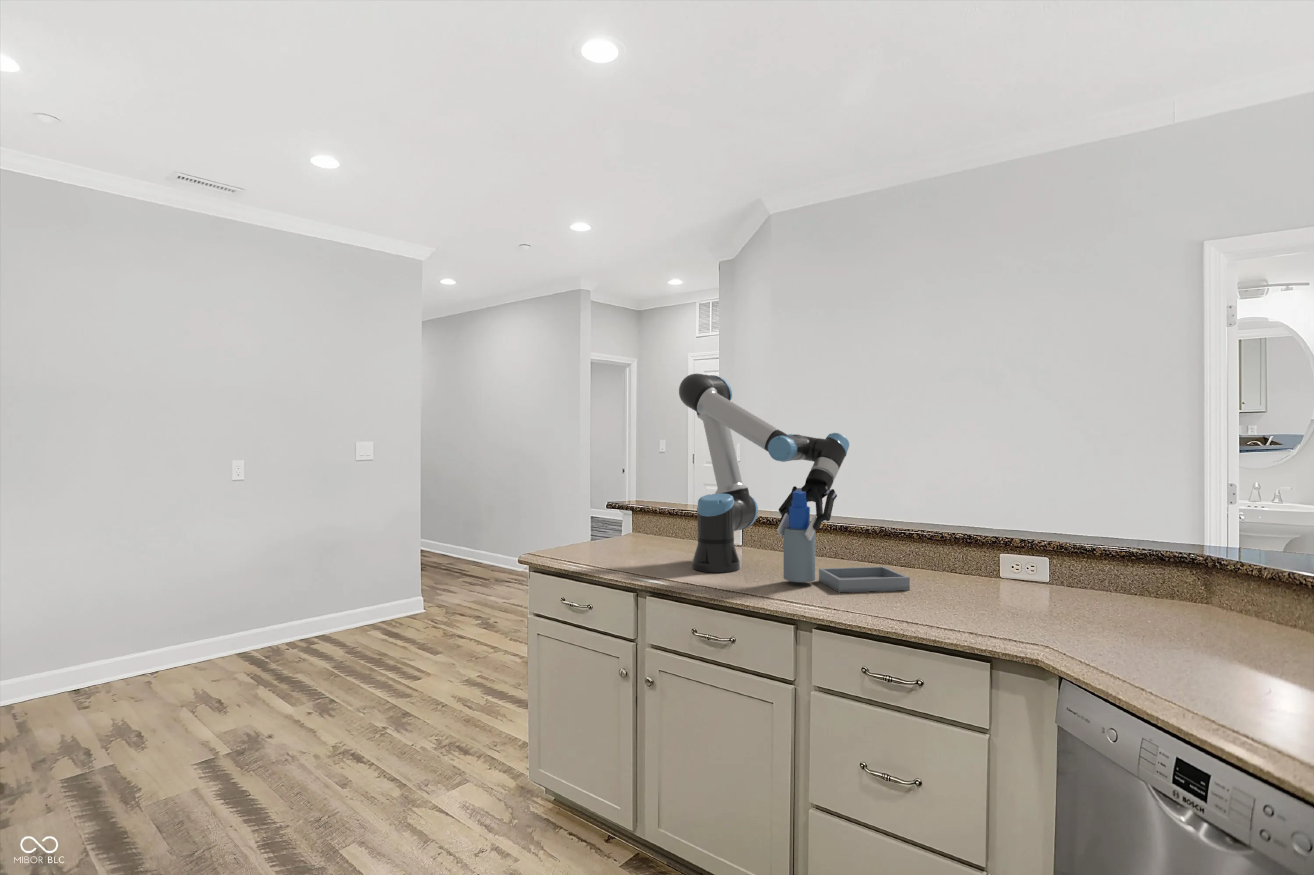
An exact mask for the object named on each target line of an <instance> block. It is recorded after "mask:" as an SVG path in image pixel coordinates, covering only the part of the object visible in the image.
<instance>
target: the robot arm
mask: <svg viewBox="0 0 1314 875" xmlns="http://www.w3.org/2000/svg"><path fill="white" fill-rule="evenodd" d="M678 395H679V399H680V401H681V402H682V403H683V405H685V406H686V407H688V408H689V409H691V410H693V411H694V412H696V416H697V418H698V419H700V420H701V421H702V423H703V428H704V432H705V436H706V441H707V446H708V450H709V455H710V458H711V459H710V460H711V463H712V464H711V465H712V468H713V469H712V470H713V473H714V477H715V482H716V486H717V488H716V491H715V493H712V494H705V495H702V496H700V498H699V499H698V500H697V507H696V512H697V513H696V514H697V545H696V549H695V552H694V556H693V558H692V569H693V570H695V571H697V572H698V571H699V572H704V573H718V574H719V573H731V572H735V571H739V570H740V568H741V566H740V562H741V561H740V558H739V555H738V553H737V552H738V551H737V549H736V546H735V532H736V531H741V530H745V529H747V528H750V526H752V525H754V523H755V522H756V520H757V518H758V516H759V515H758V514H759V506H758V503H757V501H756V500H755V498H754V497H752V495H750V492H749V487H748V486H747V485H746V484H744V483H743V480H742V476H741V472H740V467H739V461H738V459H737V455H736V449H735V444H734V441H733V436H732V431H734V432H735V433H737V434H738V435H740V436H742V437H743V438H745V439H747V440H748V441H750V442H752V443H753V444H755V445H756V446H758V447H759V448H761V449H763V450H765V451H767V452H768V454H769V456H770V458H772V459H773V460H775V461H778V462H781V463H783V462H784V463H785V462H790V461H808V462H813V464H812V466H811V468H810V471H809V472H808V474H807V477H806V478H805V484H803V486H801V487H799V488H798V487H797V486H796V485H795V486H793V487H792V489H791V492H790V493H789V495H787V497H786V499H785V500H784V501H783V502H782V504H781V505H780V506H779V508H778V512H779V514H780V515H781V517H780V519H779V521H778V523H779V525H778V527H777V529H776V532H777V534H778V536H779V537H781V538H784V528H785V527H788V526H789V506H792V500H793V492H794V491H802V492H806V500H807V503H809V502H813V503H815V515H814V516H812V519H810V524H809V527H808V529H807V531H806V533H805V535H806V537H807V539H808V540H809V541H811V539H812V537H813V535H814V533H815V534H816V531H818V530H819V529H820V527H821V524H822V523H823V522H824V521H826V522H828V521H831V516H832V511H833V507H834V504H835V500H836V498H837V497H838V495H837V493H836V490H835V489H834V488H832V487H833V486H832V485H833V483H834V481H835V479H836V478H837V475H838V473H839V470H840V468H841V466H842V464H843V462H844V460H845V457H847V454H848V450H849V448H850V442H849V439H848V438H847V437H846V436H845V435H844V434H841V433H839V432H832V433H829V434H827V436H826V437H825V438H822V437H821V438H820V437H817V438H816V437H812V436H807V435H800V434H796V433H795V434H793V433H789V434H787V433H786V432H784V431H782V430H780V429H778V428H777V427H775V426H774V425H772V424H770V423H769V422H766V421H765V420H763V419H762V418H760V417H758V416H757V415H755V414H753V413H752V412H750V411H748V410H746V409H745V408H743V407H741V406H740V405H738V404H736V403H734V401H732V398H733V391H732V387H731V385H730V383H729V382H728V381H727V380H726V379H724V378H722V377H720V376H718V375H714V374H713V375H712V374H702V373H691V374H689V375H687V376H685V377H684V378H683V379H682V380H681V382H680V384H679V386H678ZM731 430H732V431H731ZM831 488H832V489H831ZM825 497H826V499H825V504H824V503H823V499H824V498H825ZM823 504H824V508H823Z"/></svg>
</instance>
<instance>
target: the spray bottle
mask: <svg viewBox="0 0 1314 875" xmlns="http://www.w3.org/2000/svg"><path fill="white" fill-rule="evenodd" d="M810 522H811V507H810V506H809V505H808V502H807V500H806V492H802V491H794V492H793V500H792V506H789V525H788V527H785V528H784V535H783V579H784V580H785V581H789V582H793V583H794V582H795V583H810V582H815V581H816V532H815V533H814V535H813V537H812V539H811V541H809V540H808V539H807V537H806V535H805V533H806V531H807V529H808V527H809V524H810Z"/></svg>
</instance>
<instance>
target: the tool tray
mask: <svg viewBox="0 0 1314 875" xmlns="http://www.w3.org/2000/svg"><path fill="white" fill-rule="evenodd" d="M910 578H911V577H909V576H907V575H904V574H902V573H900V572H898V571H895V570H894V569H890V568H889V567H886V566H858V567H830V568H828V567H827V568H823V567H822V568H818V581H819V580H820V581H819V582H820V583H822V582H823V583H822V584H824V583H825V584H824V585H826V586H827V585H828V586H827V587H829V588H830V587H831V588H830V589H832V588H833V590H834V589H835V590H837V591H838V592H837V591H836V592H837V593H839V592H852V593H870V592H869V591H878V592H895V591H896V592H897V590H898V591H899V590H904V591H910V590H911V589H910V586H911V585H910V581H911V580H910ZM835 590H834V591H835Z"/></svg>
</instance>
